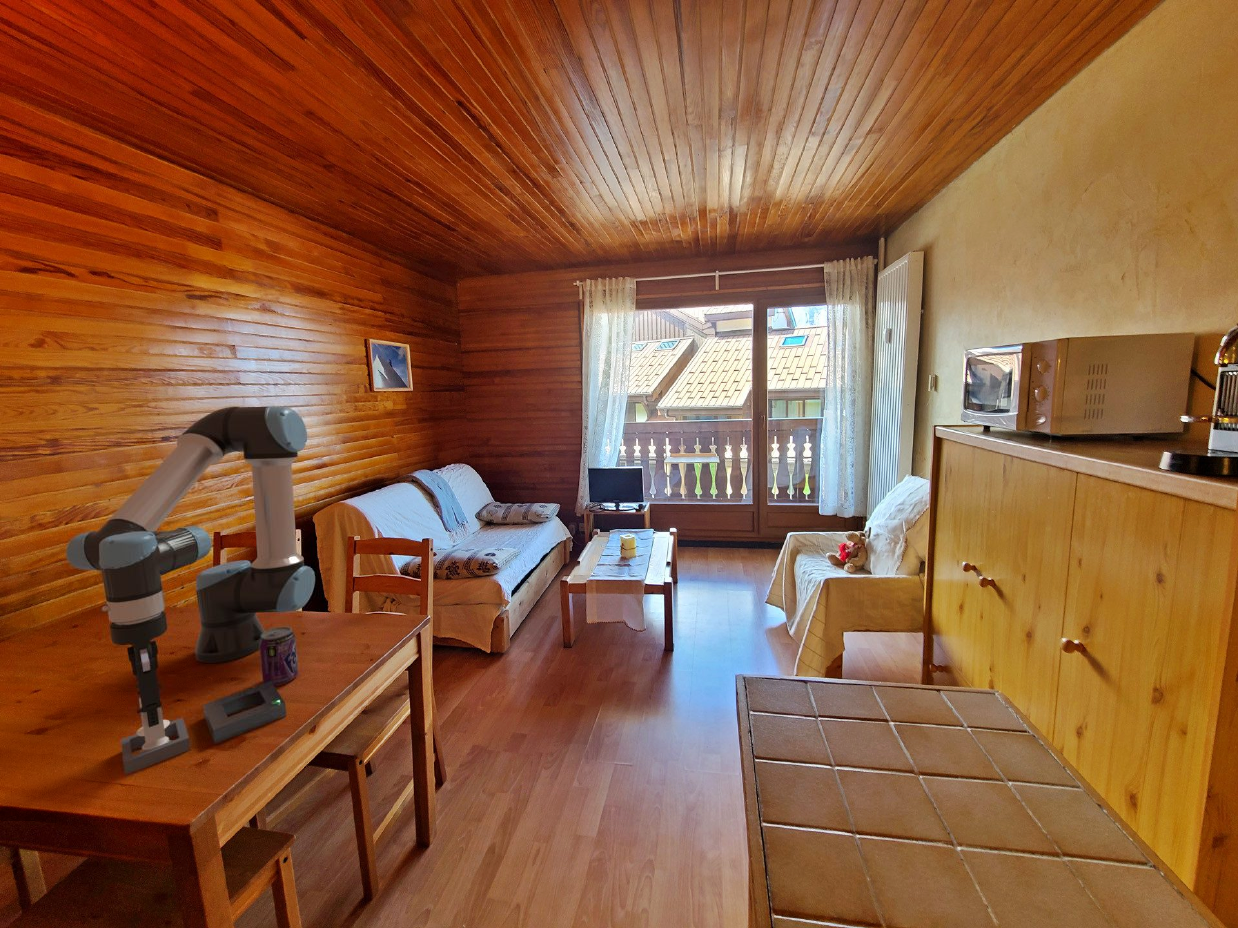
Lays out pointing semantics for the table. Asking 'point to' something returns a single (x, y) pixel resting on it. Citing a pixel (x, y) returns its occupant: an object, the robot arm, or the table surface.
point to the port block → (246, 720)
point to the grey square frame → (157, 752)
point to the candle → (156, 742)
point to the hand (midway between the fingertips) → (154, 732)
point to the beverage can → (278, 655)
